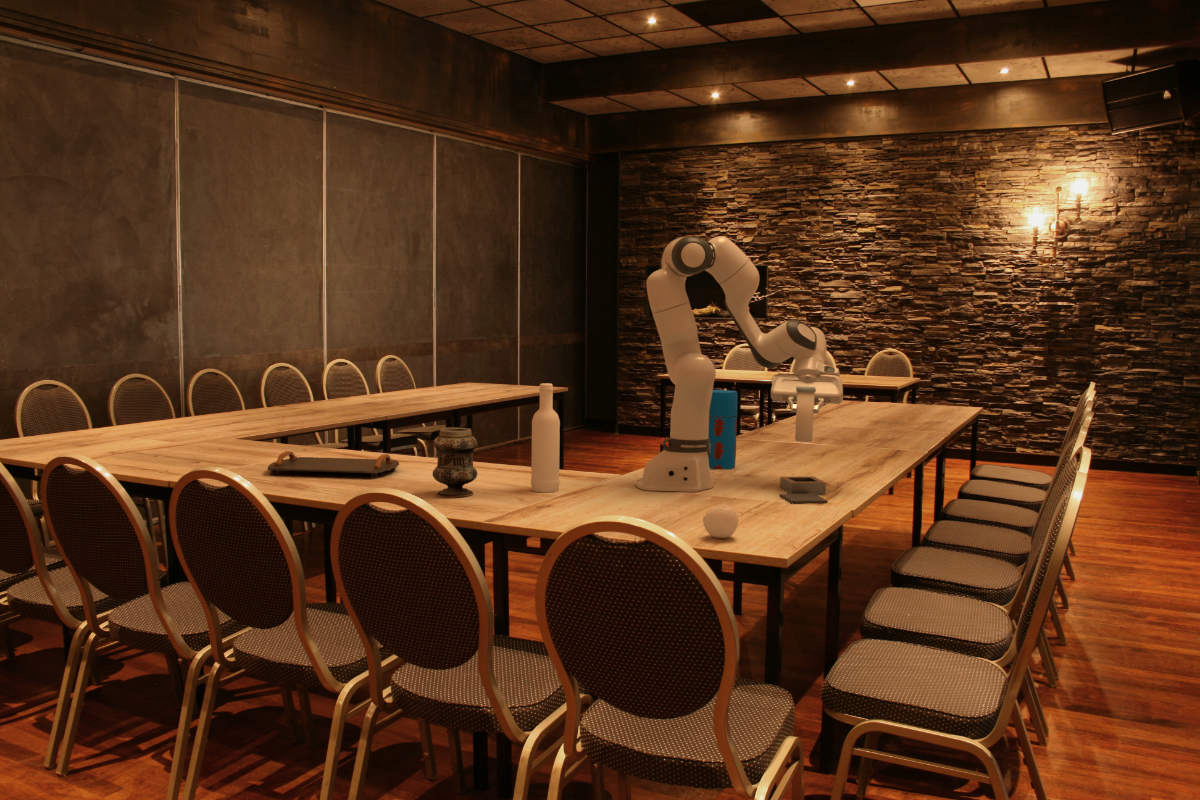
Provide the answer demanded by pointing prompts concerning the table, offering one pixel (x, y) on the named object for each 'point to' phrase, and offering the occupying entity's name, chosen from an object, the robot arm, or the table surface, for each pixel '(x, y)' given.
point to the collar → (803, 485)
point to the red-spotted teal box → (723, 429)
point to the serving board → (333, 464)
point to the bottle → (545, 444)
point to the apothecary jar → (455, 461)
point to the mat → (803, 498)
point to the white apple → (721, 521)
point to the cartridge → (804, 414)
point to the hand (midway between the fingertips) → (804, 411)
